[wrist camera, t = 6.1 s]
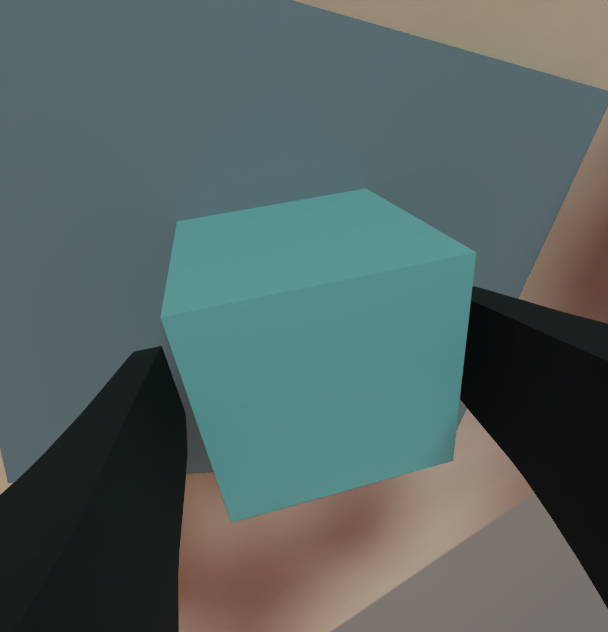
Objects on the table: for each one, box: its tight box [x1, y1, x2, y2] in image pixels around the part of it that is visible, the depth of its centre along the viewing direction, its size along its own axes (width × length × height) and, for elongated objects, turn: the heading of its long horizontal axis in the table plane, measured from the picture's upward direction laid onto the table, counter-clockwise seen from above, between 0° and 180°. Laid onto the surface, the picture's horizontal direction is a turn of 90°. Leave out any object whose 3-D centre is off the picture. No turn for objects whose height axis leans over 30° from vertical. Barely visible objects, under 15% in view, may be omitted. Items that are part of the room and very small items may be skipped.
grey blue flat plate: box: [0, 0, 608, 483], centre depth 12 cm, size 16×14×1 cm
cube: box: [160, 189, 476, 523], centre depth 10 cm, size 5×5×5 cm
